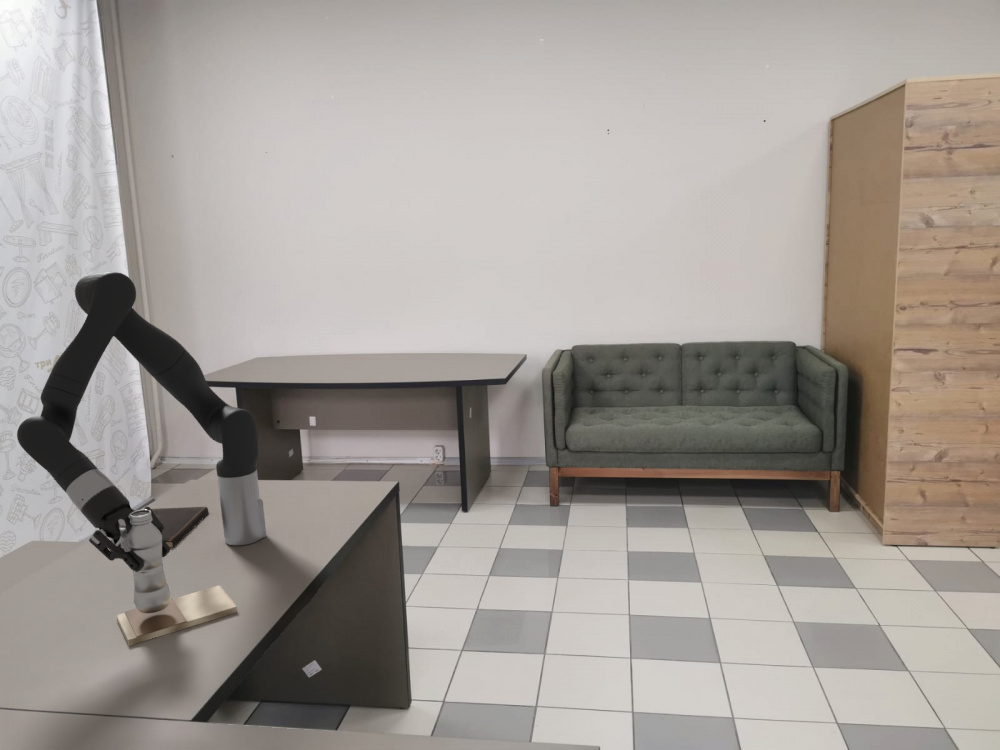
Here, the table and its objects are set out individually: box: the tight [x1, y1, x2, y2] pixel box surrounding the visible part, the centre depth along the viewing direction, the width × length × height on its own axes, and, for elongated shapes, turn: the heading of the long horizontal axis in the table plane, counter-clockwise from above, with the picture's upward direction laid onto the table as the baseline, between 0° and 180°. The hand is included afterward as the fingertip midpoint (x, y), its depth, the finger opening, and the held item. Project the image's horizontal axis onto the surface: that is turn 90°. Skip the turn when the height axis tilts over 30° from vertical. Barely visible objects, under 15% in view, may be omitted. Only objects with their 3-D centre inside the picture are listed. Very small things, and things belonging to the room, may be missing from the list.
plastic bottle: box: [127, 509, 172, 613], centre depth 151 cm, size 6×7×20 cm
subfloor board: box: [116, 585, 238, 647], centre depth 155 cm, size 20×12×1 cm, turn 125°
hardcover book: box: [110, 506, 209, 548], centre depth 201 cm, size 16×23×2 cm
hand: (154, 561), depth 150 cm, fingers closed on plastic bottle, 6 cm apart
